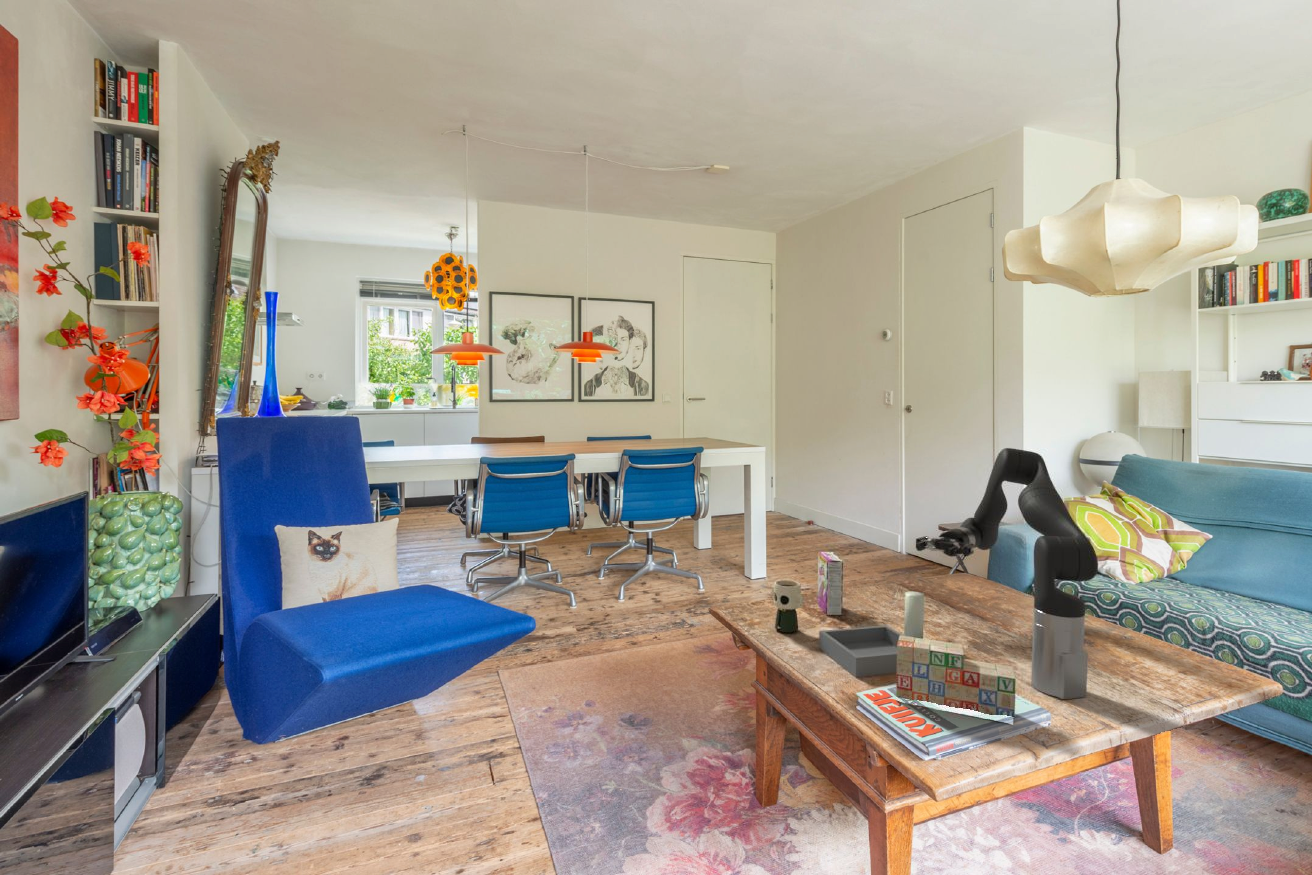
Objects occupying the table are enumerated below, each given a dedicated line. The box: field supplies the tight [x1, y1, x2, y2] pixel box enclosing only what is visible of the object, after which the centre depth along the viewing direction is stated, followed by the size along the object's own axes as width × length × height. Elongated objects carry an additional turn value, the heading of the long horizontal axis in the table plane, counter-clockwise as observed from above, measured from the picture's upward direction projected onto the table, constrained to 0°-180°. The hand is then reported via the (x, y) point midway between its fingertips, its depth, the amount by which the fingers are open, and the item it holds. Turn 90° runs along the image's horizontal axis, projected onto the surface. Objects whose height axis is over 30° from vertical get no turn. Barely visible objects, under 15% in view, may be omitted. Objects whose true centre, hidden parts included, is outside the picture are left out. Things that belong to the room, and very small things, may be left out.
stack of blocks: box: [895, 635, 1017, 718], centre depth 125 cm, size 21×6×12 cm, turn 64°
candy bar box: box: [817, 551, 844, 616], centre depth 184 cm, size 11×5×16 cm, turn 179°
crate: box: [818, 624, 904, 678], centre depth 149 cm, size 17×19×4 cm
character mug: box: [771, 579, 804, 633], centre depth 167 cm, size 11×7×13 cm, turn 36°
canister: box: [903, 590, 925, 639], centre depth 161 cm, size 5×5×12 cm
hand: (933, 549), depth 168 cm, fingers open, 8 cm apart
